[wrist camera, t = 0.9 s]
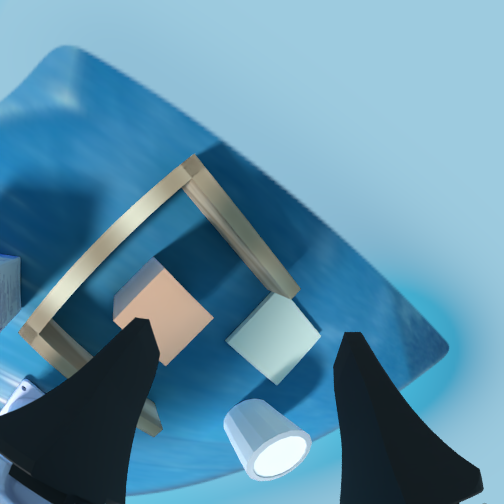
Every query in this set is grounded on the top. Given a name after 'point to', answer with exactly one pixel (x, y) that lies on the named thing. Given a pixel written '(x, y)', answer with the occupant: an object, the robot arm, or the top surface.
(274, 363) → the rubber mat
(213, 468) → the top surface
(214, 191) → the birch pen
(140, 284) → the terracotta block
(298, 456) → the white cup
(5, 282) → the medicine box
